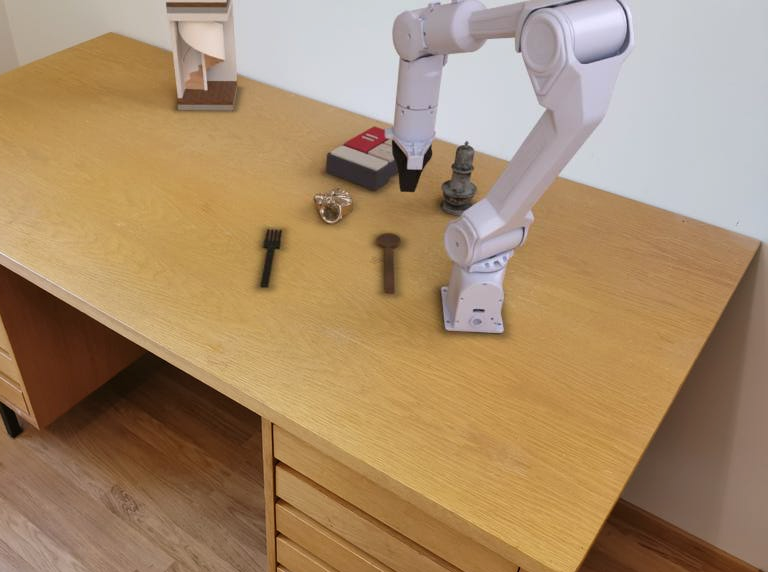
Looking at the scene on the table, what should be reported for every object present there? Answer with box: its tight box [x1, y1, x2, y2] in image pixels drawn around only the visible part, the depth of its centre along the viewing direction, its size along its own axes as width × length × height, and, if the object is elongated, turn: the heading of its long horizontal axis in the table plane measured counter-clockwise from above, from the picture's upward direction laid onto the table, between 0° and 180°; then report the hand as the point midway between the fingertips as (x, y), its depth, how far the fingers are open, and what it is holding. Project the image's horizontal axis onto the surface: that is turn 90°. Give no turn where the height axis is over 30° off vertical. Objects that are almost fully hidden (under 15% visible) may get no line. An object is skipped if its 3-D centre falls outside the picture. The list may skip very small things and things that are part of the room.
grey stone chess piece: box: [440, 140, 478, 216], centre depth 122 cm, size 6×6×12 cm
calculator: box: [325, 125, 399, 191], centre depth 135 cm, size 11×4×15 cm
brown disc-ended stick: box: [377, 232, 401, 294], centre depth 115 cm, size 15×4×1 cm, turn 175°
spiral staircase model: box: [165, 0, 239, 111], centre depth 146 cm, size 11×11×35 cm
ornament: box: [313, 185, 354, 225], centre depth 124 cm, size 8×7×4 cm
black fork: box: [260, 228, 283, 289], centre depth 116 cm, size 15×3×1 cm, turn 175°
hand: (407, 189), depth 111 cm, fingers closed
